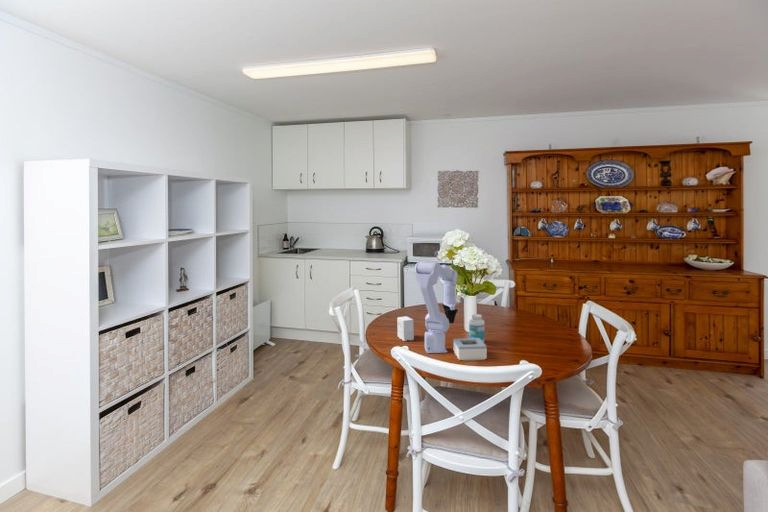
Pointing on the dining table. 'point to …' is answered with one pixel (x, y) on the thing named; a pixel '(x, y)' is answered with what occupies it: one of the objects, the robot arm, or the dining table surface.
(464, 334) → the dining table surface
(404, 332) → the small box
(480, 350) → the money box
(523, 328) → the dining table surface
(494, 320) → the dining table surface
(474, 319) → the pill bottle
